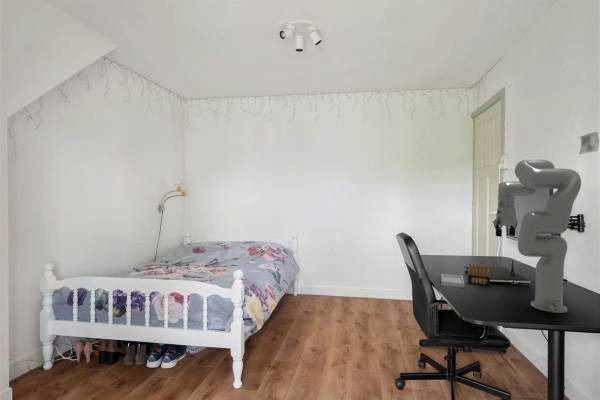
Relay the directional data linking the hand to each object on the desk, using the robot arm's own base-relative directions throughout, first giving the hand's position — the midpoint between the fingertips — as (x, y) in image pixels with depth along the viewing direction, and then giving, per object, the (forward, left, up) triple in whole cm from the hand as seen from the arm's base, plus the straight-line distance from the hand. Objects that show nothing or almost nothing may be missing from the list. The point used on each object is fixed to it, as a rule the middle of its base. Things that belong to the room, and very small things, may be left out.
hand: (505, 236), depth 179 cm
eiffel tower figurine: (+6, -5, -27) cm, 28 cm away
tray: (-11, +26, -26) cm, 39 cm away
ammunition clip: (-10, +13, -26) cm, 31 cm away
